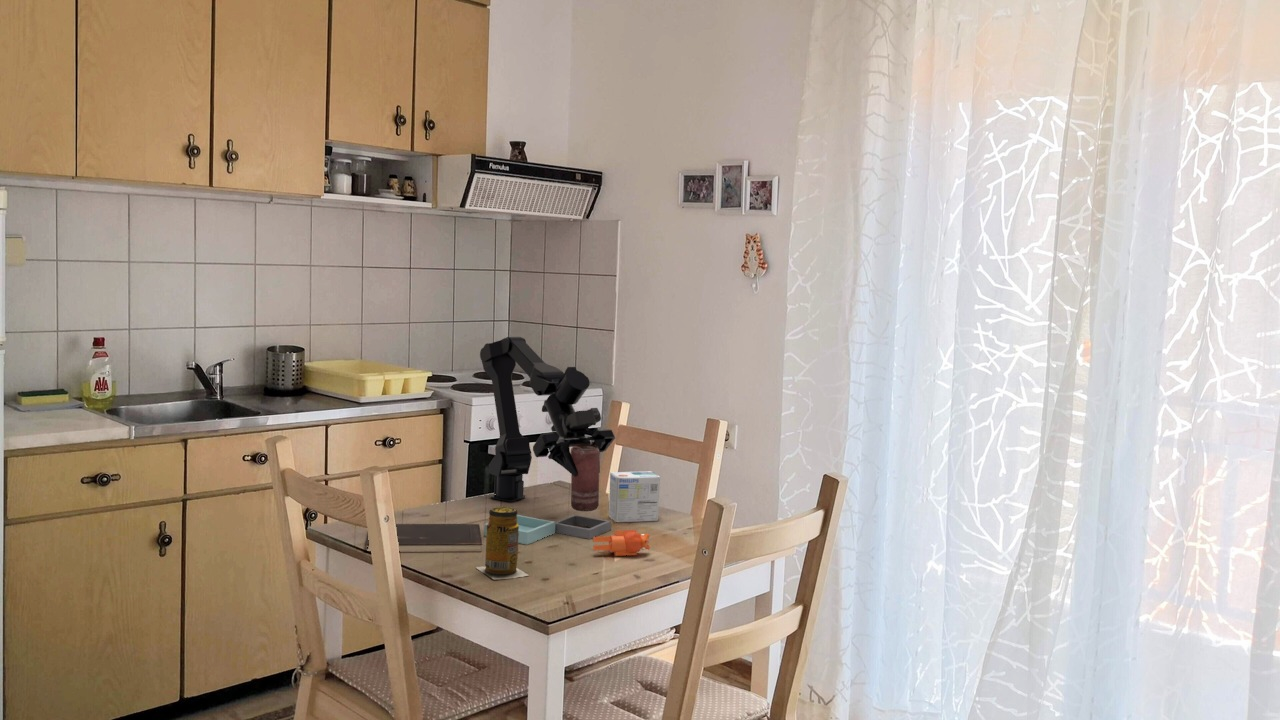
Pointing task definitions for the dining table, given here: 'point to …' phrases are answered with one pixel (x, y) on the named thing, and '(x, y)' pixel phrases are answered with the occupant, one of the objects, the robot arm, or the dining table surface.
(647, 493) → the light bulb box
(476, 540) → the hardcover book
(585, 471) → the can
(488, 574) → the condiment
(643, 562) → the dining table surface
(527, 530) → the tray
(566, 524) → the grey square tray
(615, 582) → the dining table surface
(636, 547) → the orange toy figure
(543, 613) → the dining table surface
